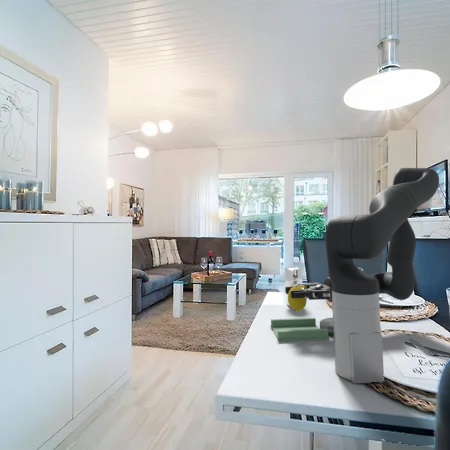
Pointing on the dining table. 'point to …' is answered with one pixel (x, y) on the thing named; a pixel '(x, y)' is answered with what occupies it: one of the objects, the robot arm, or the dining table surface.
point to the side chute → (298, 329)
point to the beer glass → (293, 277)
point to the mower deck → (327, 325)
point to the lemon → (296, 300)
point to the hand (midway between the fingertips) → (288, 292)
